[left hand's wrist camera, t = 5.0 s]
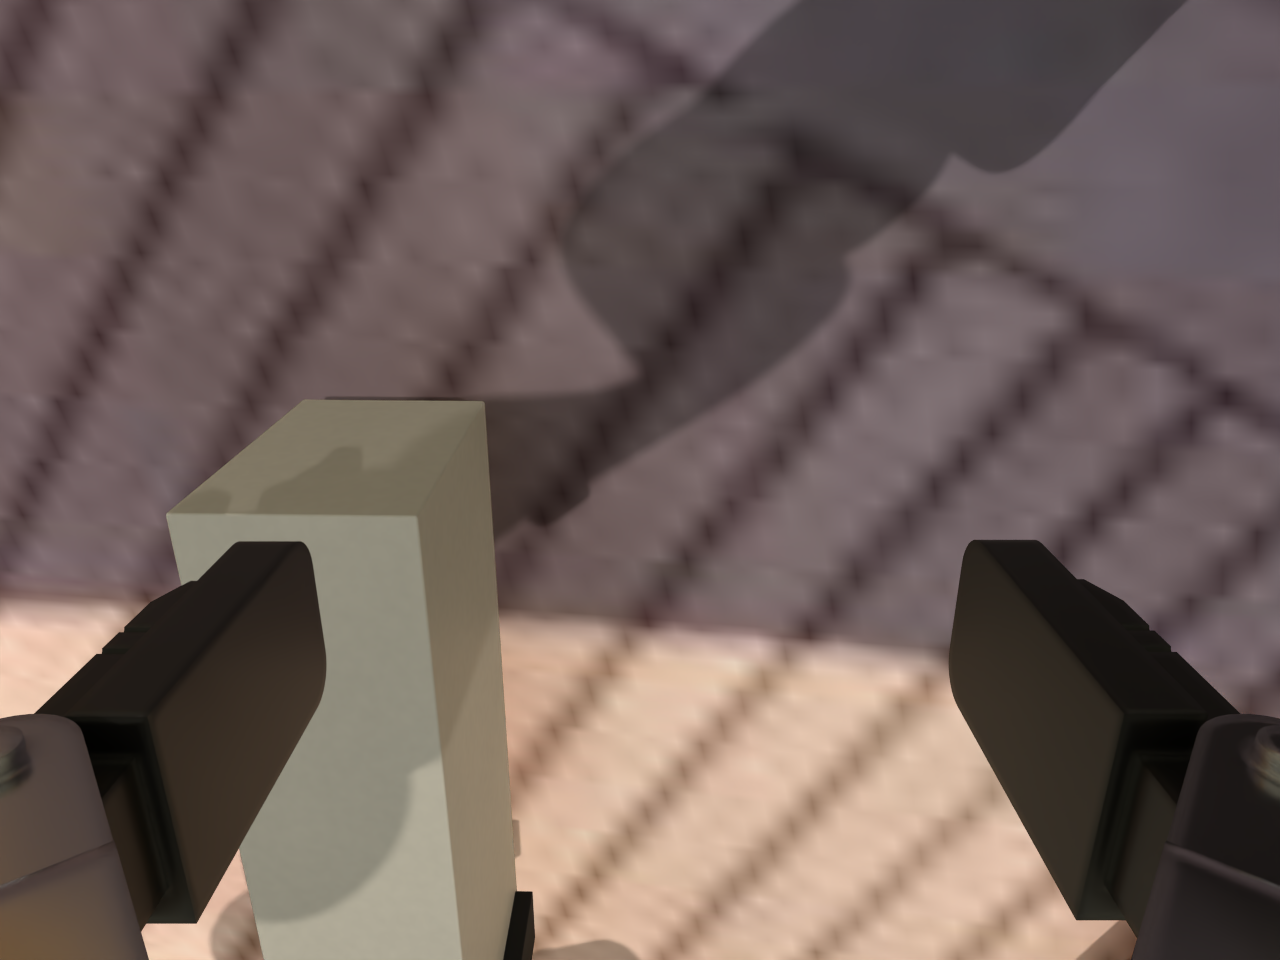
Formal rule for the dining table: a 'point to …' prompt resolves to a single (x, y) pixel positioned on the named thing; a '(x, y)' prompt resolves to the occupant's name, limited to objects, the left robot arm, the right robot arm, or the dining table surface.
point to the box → (379, 682)
